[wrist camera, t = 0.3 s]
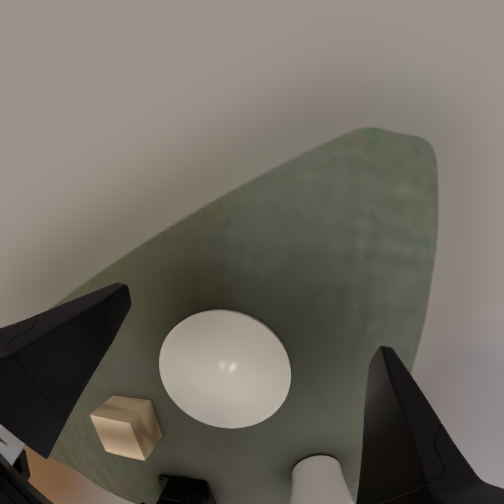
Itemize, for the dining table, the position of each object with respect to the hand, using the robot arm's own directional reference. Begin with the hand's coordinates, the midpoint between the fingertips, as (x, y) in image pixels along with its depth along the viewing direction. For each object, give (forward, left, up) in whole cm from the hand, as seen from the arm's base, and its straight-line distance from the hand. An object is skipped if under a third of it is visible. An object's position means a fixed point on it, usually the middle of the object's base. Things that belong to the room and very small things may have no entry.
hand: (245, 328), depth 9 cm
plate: (-8, +5, -14) cm, 17 cm away
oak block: (-14, +16, -14) cm, 25 cm away
